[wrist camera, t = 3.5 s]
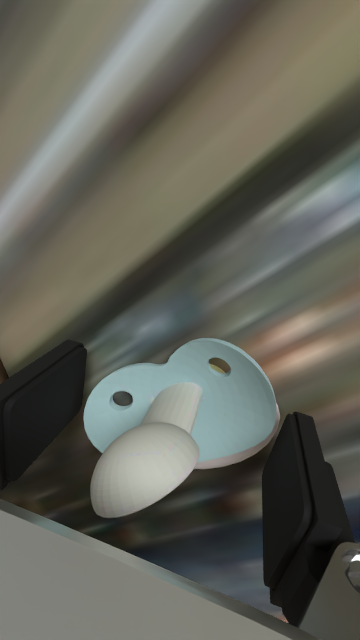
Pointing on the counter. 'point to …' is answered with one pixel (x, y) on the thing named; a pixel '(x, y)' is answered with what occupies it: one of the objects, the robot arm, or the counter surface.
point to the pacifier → (175, 423)
